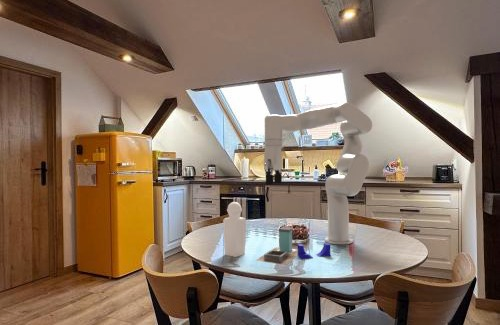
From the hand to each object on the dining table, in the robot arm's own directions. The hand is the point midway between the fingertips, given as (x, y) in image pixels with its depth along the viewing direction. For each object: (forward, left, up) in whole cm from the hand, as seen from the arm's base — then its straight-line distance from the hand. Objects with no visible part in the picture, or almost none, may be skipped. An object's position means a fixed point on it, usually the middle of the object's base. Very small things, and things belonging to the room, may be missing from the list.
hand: (273, 183), depth 136 cm
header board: (+11, +7, -28) cm, 31 cm away
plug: (+5, +7, -27) cm, 28 cm away
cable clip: (+7, +19, -29) cm, 35 cm away
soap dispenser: (+17, -10, -28) cm, 35 cm away
